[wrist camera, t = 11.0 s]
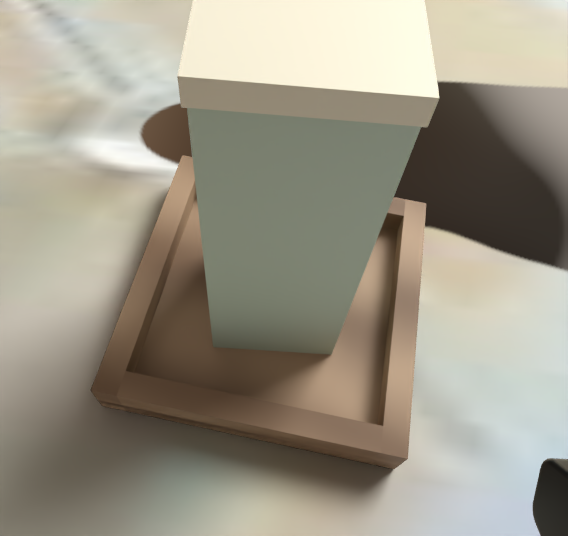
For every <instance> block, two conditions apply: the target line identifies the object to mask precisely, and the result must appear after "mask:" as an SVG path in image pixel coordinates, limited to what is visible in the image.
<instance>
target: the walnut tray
mask: <svg viewBox="0 0 568 536" xmlns="http://www.w3.org/2000/svg"><path fill="white" fill-rule="evenodd" d="M425 214H426V203H421V202H416V201H411V200H405V199H401V198H396V197H393V200H392V202H391V205H390V207H389V210H388V212H387V215H386V217H385V220H384V222H383V225H382V227H381V230H380V233H379V235H378V238H377V240H376V243H375V245H374V248H373V250H372V253H371V255H370V258H369V261H368V263H367V266H366V268H365V271H364V273H363V276H362V278H361V281H360V283H359V286H358V289H357V291H356V294H355V296H354V299H353V301H352V304H351V306H350V309H349V311H348V314H347V316H346V319H345V322H344V324H343V327H342V329H341V332H340V334H339V337H338V339H337V342H336V344H335V347H334V350H333V352H332V355H329V354H314V353H298V352H282V351H266V350H250V349H235V348H219V347H213V341H212V332H211V323H210V313H209V304H208V295H207V286H206V277H205V268H204V258H203V249H202V240H201V231H200V222H199V213H198V203H197V194H196V185H195V176H194V167H193V158H192V157H188V156H182V158H181V160H180V163H179V165H178V168H177V171H176V173H175V176H174V178H173V181H172V183H171V186H170V188H169V191H168V194H167V196H166V199H165V201H164V204H163V206H162V209H161V212H160V214H159V217H158V219H157V222H156V224H155V227H154V229H153V232H152V235H151V237H150V240H149V242H148V245H147V247H146V250H145V252H144V255H143V258H142V260H141V263H140V265H139V268H138V270H137V273H136V275H135V278H134V281H133V283H132V286H131V288H130V291H129V293H128V296H127V298H126V301H125V304H124V306H123V309H122V311H121V314H120V316H119V319H118V321H117V324H116V327H115V329H114V332H113V334H112V337H111V339H110V342H109V344H108V347H107V350H106V352H105V355H104V357H103V360H102V362H101V365H100V367H99V370H98V373H97V375H96V378H95V380H94V383H93V385H92V388H91V392H92V393H93V394H94V396H95V397H96V398H97V400H98V401H99V402H100V404H101V405H102V406H105V407H110V408H114V409H119V410H124V411H128V412H133V413H137V414H142V415H147V416H151V417H156V418H161V419H165V420H170V421H174V422H179V423H184V424H188V425H193V426H197V427H202V428H207V429H211V430H216V431H220V432H225V433H230V434H234V435H239V436H244V437H248V438H253V439H257V440H262V441H267V442H271V443H276V444H280V445H285V446H290V447H294V448H299V449H304V450H308V451H313V452H317V453H322V454H327V455H331V456H336V457H340V458H345V459H350V460H354V461H359V462H363V463H368V464H373V465H377V466H382V467H387V468H391V469H395V468H396V467H398V466H399V465H400V464H401V463H403V462H404V461H405V460H407V459H408V446H409V432H410V419H411V405H412V391H413V378H414V364H415V350H416V337H417V323H418V310H419V296H420V282H421V269H422V255H423V241H424V228H425Z"/></svg>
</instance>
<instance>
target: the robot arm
mask: <svg viewBox="0 0 568 536" xmlns="http://www.w3.org/2000/svg"><path fill="white" fill-rule="evenodd" d="M533 516H534V520H535V523H536V525H537V528H538V530H539V533H540V535H541V536H568V459H553V458H550V459H547V460H545V461H544V462H543V464H542V465H541V468H540V473H539V478H538V482H537V487H536V491H535V496H534V500H533Z"/></svg>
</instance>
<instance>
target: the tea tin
mask: <svg viewBox="0 0 568 536" xmlns="http://www.w3.org/2000/svg"><path fill="white" fill-rule="evenodd" d="M178 85H179V93H180V101H181V107H184V108H187V111H188V121H189V130H190V139H191V148H192V158H193V167H194V176H195V185H196V194H197V203H198V213H199V222H200V231H201V240H202V249H203V258H204V268H205V277H206V286H207V295H208V304H209V313H210V323H211V332H212V341H213V347H219V348H235V349H250V350H266V351H282V352H298V353H314V354H329V355H332V352H333V350H334V347H335V344H336V342H337V339H338V337H339V334H340V332H341V329H342V327H343V324H344V322H345V319H346V316H347V314H348V311H349V309H350V306H351V304H352V301H353V299H354V296H355V294H356V291H357V289H358V286H359V283H360V281H361V278H362V276H363V273H364V271H365V268H366V266H367V263H368V261H369V258H370V255H371V253H372V250H373V248H374V245H375V243H376V240H377V238H378V235H379V233H380V230H381V227H382V225H383V222H384V220H385V217H386V215H387V212H388V210H389V207H390V205H391V202H392V200H393V197H394V194H395V192H396V189H397V187H398V184H399V181H400V179H401V176H402V174H403V171H404V169H405V166H406V164H407V161H408V159H409V156H410V154H411V151H412V149H413V146H414V144H415V141H416V138H417V136H418V133H419V131H420V128H421V127H428V125H429V122H430V120H431V117H432V115H433V112H434V110H435V108H436V105H437V103H438V100H439V92H438V86H437V79H436V72H435V66H434V59H433V53H432V46H431V40H430V33H429V27H428V20H427V14H426V7H425V1H424V0H193V3H192V8H191V13H190V17H189V22H188V27H187V32H186V37H185V42H184V47H183V52H182V56H181V61H180V66H179V71H178Z"/></svg>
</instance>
